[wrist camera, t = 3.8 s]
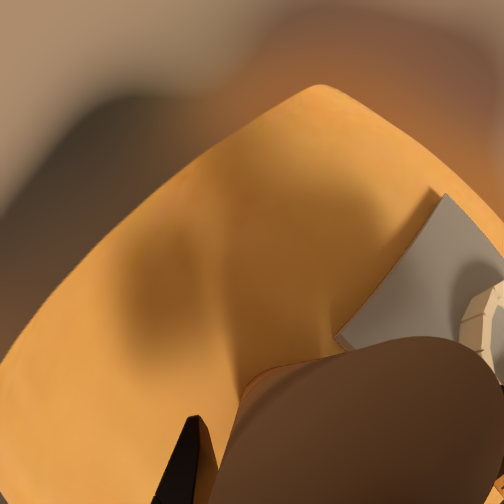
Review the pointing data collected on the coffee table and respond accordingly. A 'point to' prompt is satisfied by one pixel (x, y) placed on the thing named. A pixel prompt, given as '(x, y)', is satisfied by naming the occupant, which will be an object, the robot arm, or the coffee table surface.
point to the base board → (439, 291)
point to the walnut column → (368, 429)
